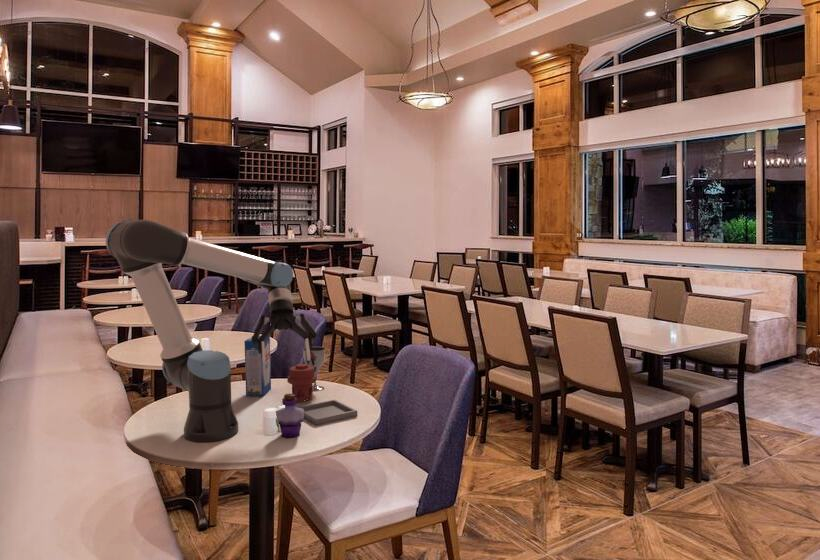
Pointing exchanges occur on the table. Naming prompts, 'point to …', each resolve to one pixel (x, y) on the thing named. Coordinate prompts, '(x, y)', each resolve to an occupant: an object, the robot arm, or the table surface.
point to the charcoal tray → (327, 412)
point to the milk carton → (257, 369)
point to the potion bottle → (289, 417)
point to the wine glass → (315, 361)
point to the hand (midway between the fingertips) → (286, 360)
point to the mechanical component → (302, 381)
